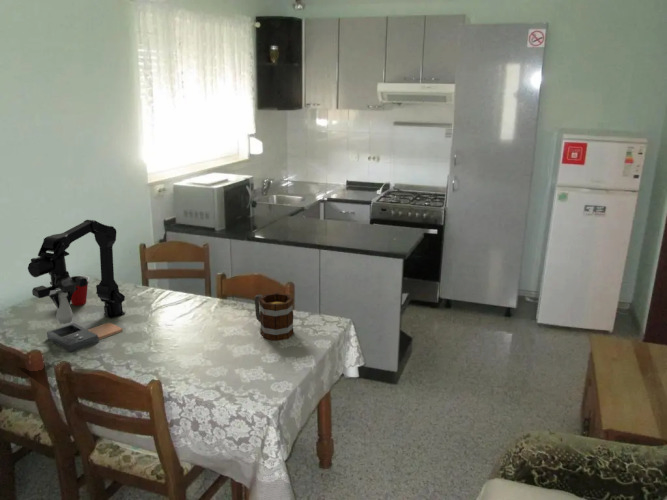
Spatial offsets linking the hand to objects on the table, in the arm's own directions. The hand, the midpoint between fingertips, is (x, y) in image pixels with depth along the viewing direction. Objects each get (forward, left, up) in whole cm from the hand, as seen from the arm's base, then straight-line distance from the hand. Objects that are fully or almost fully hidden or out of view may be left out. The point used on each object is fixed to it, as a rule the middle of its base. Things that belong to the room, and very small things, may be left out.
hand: (63, 307), depth 210 cm
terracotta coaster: (-12, +6, -13) cm, 19 cm away
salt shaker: (0, 0, -6) cm, 6 cm away
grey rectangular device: (0, +4, -13) cm, 14 cm away
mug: (-55, +58, -13) cm, 81 cm away
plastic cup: (-21, -31, -13) cm, 40 cm away
